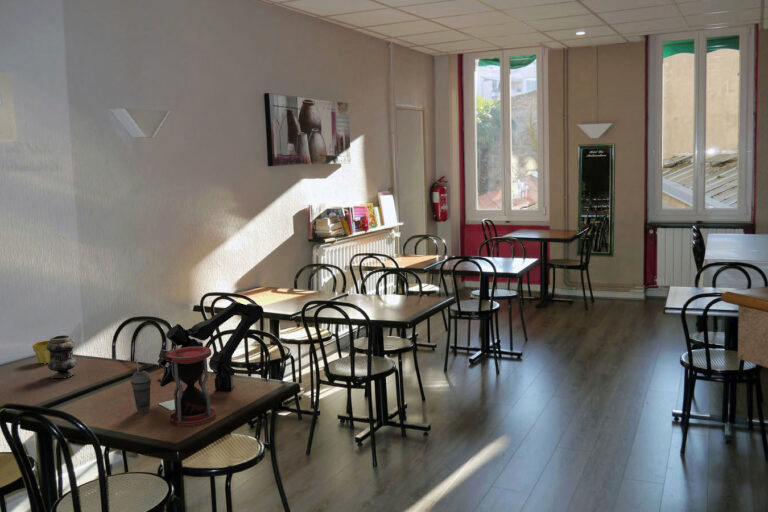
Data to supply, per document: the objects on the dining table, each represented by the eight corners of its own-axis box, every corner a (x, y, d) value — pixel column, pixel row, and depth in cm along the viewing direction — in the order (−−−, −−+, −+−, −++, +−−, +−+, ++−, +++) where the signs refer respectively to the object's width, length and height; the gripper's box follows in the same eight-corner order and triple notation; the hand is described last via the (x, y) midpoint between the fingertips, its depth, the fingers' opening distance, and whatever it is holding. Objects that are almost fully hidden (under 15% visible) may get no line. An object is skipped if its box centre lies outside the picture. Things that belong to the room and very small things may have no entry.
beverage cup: (147, 414, 266) (142, 362, 263) (129, 413, 268) (124, 361, 265) (157, 407, 273) (153, 357, 271) (139, 407, 275) (135, 356, 272)
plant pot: (29, 365, 342) (27, 345, 341) (43, 359, 352) (41, 340, 351) (49, 365, 340) (47, 345, 339) (62, 359, 351) (60, 340, 349)
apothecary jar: (83, 374, 324) (79, 335, 321) (59, 381, 314) (55, 341, 311) (67, 370, 330) (63, 332, 328) (43, 377, 320) (39, 338, 318)
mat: (184, 397, 285) (184, 396, 285) (197, 403, 276) (197, 402, 276) (158, 404, 277) (158, 403, 277) (171, 410, 269) (171, 410, 269)
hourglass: (189, 409, 270) (184, 344, 267) (224, 413, 264) (220, 347, 261) (160, 424, 255) (155, 356, 252) (197, 429, 249) (192, 359, 246)
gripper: (160, 337, 283) (135, 370, 277) (182, 344, 269) (156, 379, 263) (180, 352, 289) (156, 385, 283) (202, 360, 275) (178, 395, 269)
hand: (161, 386), depth 274 cm, fingers closed
